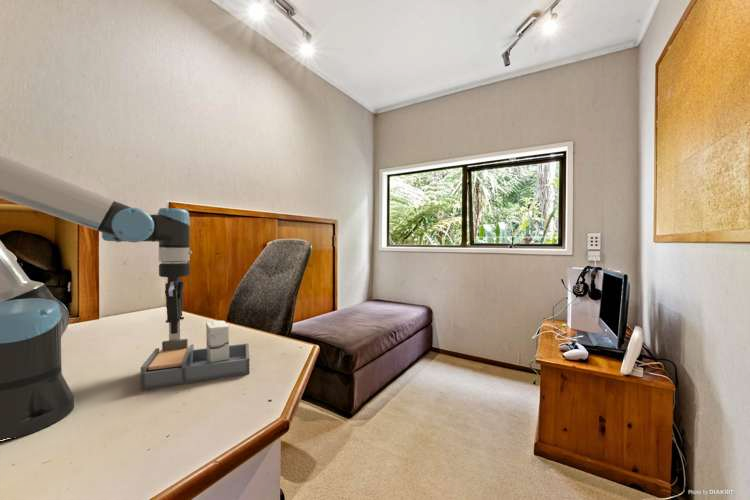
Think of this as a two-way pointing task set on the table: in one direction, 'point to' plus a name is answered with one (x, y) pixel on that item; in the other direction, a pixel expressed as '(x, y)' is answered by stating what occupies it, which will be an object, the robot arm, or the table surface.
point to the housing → (195, 368)
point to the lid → (170, 354)
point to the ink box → (217, 341)
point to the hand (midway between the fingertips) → (175, 343)
